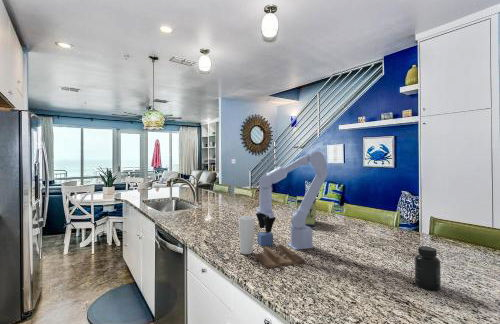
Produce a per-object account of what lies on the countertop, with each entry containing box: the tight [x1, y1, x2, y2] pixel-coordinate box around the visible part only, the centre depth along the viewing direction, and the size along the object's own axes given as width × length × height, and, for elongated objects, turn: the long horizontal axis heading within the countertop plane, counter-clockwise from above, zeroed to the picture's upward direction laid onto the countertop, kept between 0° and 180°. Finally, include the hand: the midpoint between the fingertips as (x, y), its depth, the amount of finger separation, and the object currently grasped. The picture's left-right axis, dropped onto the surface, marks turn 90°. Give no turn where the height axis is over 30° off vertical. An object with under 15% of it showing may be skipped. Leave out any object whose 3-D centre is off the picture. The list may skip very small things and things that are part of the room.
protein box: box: [296, 195, 317, 228], centre depth 164 cm, size 10×16×16 cm
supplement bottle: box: [414, 245, 442, 291], centre depth 85 cm, size 7×7×12 cm
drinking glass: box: [238, 215, 256, 255], centre depth 113 cm, size 7×7×15 cm
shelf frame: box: [254, 244, 306, 269], centre depth 106 cm, size 16×12×4 cm
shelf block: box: [257, 231, 274, 247], centre depth 125 cm, size 6×4×5 cm
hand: (265, 230), depth 125 cm, fingers open, 7 cm apart
